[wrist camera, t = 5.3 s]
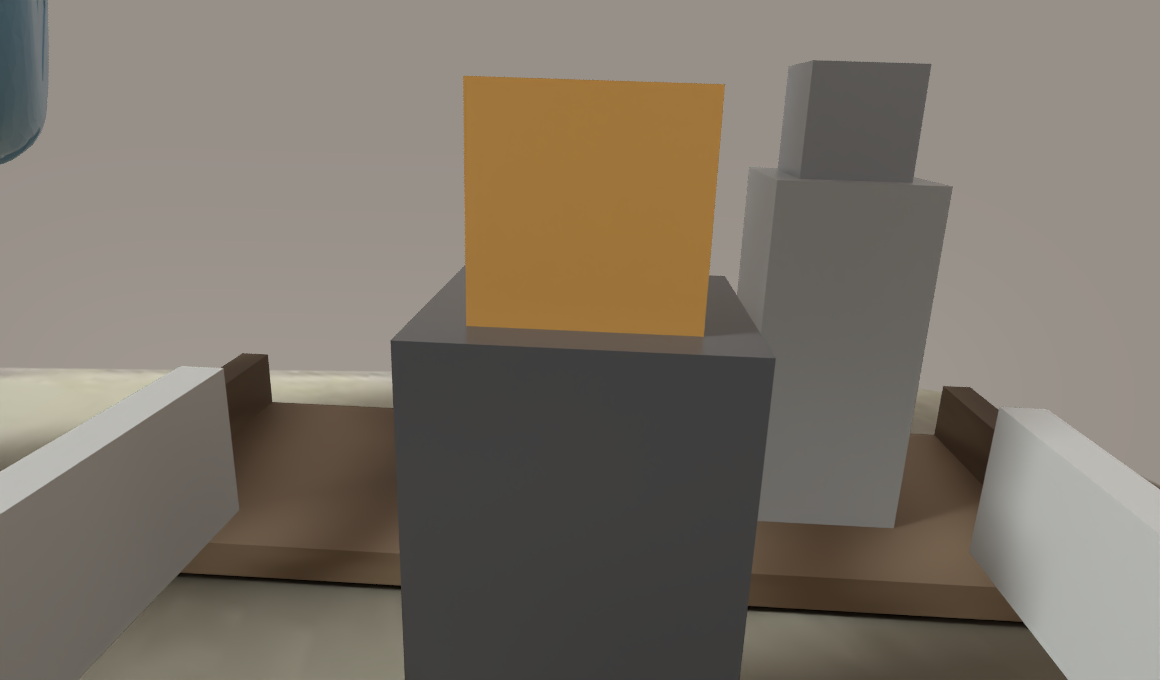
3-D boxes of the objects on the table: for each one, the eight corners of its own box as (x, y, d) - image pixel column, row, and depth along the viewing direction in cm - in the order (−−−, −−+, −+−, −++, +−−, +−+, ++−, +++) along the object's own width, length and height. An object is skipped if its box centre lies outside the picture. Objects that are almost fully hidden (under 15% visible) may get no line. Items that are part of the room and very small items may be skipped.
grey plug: (741, 520, 23) (789, 57, 19) (722, 454, 27) (758, 66, 23) (893, 528, 23) (974, 63, 19) (850, 461, 27) (908, 71, 23)
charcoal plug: (416, 952, 12) (378, 70, 8) (470, 728, 16) (463, 83, 12) (706, 974, 12) (806, 84, 8) (682, 742, 16) (741, 92, 12)
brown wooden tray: (82, 567, 21) (64, 469, 20) (250, 424, 31) (242, 353, 30) (1115, 627, 20) (1144, 526, 19) (956, 459, 30) (970, 387, 29)
